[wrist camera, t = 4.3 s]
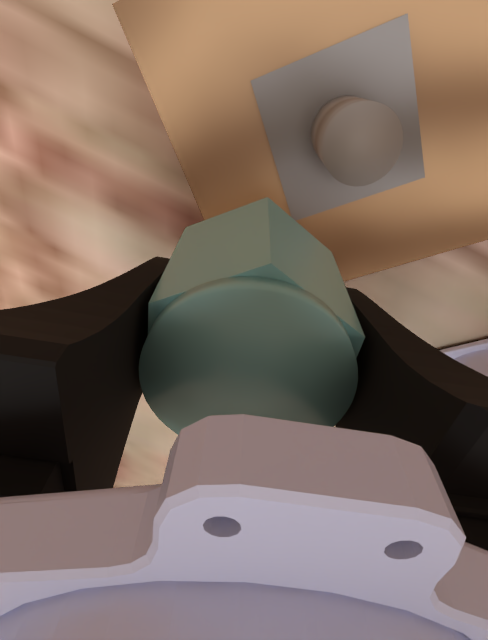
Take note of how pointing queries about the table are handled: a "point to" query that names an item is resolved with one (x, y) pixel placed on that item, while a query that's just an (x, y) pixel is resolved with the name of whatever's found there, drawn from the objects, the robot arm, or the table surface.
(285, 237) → the cap
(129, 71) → the table surface
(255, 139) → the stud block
